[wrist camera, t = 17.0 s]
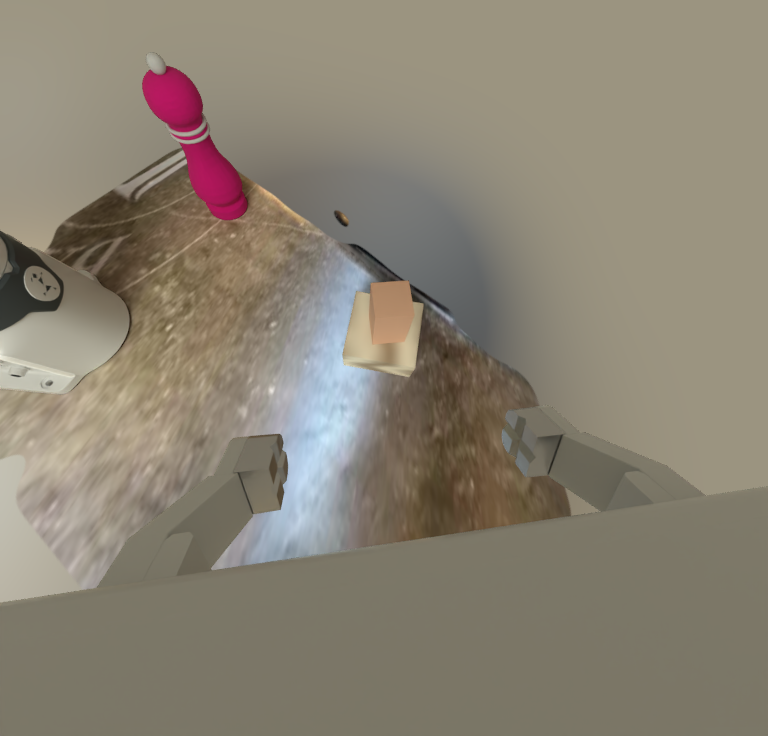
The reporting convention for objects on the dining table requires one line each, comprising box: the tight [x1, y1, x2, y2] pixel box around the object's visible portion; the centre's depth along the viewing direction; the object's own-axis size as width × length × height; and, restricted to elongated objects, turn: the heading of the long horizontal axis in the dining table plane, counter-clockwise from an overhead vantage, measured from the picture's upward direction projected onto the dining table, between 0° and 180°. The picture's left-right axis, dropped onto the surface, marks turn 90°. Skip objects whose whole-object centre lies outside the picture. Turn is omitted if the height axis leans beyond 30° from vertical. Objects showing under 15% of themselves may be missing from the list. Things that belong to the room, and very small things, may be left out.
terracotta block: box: [369, 281, 415, 345], centre depth 37 cm, size 4×4×8 cm
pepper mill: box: [142, 52, 247, 220], centre depth 41 cm, size 7×7×20 cm
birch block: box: [343, 291, 423, 377], centre depth 43 cm, size 10×10×5 cm
